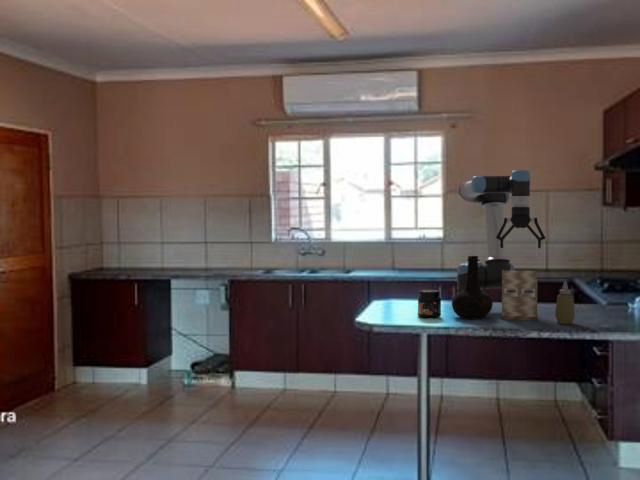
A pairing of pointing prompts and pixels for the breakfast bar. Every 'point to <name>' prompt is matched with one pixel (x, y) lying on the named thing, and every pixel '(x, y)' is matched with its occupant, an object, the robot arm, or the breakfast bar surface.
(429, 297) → the supplement container
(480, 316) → the glass bottle
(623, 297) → the breakfast bar surface
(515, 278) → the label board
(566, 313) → the squeeze bottle
